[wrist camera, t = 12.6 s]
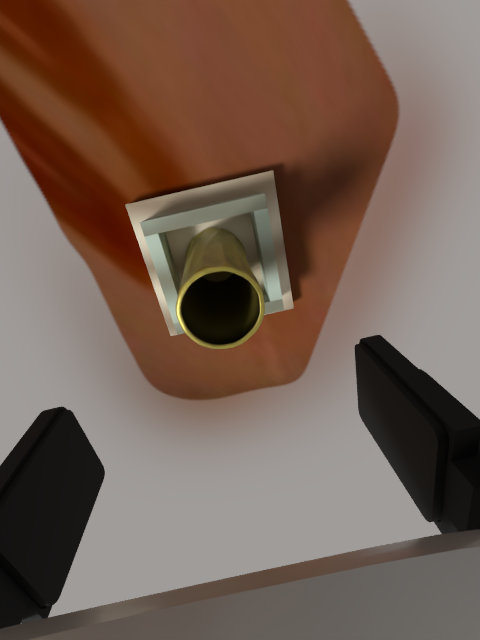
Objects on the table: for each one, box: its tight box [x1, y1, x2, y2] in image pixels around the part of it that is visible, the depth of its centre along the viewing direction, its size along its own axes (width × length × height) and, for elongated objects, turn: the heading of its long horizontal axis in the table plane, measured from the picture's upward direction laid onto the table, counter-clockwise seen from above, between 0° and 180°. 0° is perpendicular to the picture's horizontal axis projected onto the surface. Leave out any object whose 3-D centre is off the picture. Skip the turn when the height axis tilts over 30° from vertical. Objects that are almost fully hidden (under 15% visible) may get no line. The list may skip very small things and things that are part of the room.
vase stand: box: [126, 170, 294, 336], centre depth 30 cm, size 14×14×5 cm
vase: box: [176, 228, 265, 349], centre depth 24 cm, size 6×6×14 cm
